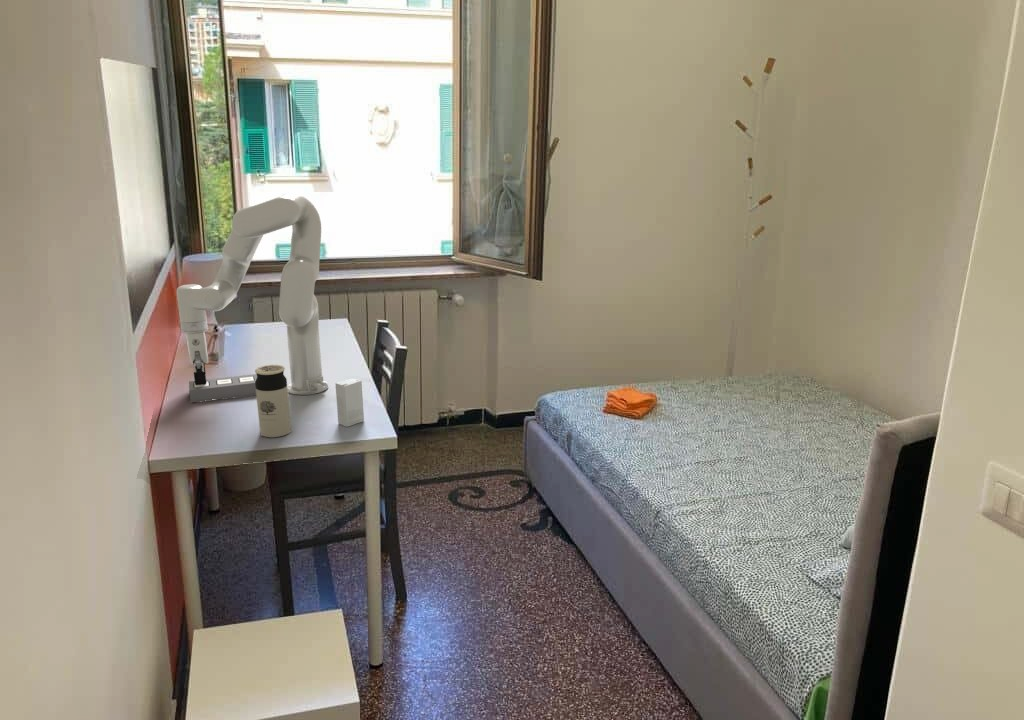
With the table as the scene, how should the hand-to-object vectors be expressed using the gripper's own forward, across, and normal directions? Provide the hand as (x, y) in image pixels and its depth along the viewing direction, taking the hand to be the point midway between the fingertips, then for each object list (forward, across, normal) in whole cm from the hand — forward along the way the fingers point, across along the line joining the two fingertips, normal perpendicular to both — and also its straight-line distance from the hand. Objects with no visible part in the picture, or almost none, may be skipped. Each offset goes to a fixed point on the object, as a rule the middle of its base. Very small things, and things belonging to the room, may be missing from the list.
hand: (200, 379), depth 239 cm
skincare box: (+4, -43, -38) cm, 58 cm away
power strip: (+4, -5, -7) cm, 9 cm away
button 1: (+2, -5, 0) cm, 6 cm away
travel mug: (+4, -43, -18) cm, 47 cm away
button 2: (+2, -5, -13) cm, 14 cm away
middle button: (+2, -5, -7) cm, 9 cm away
